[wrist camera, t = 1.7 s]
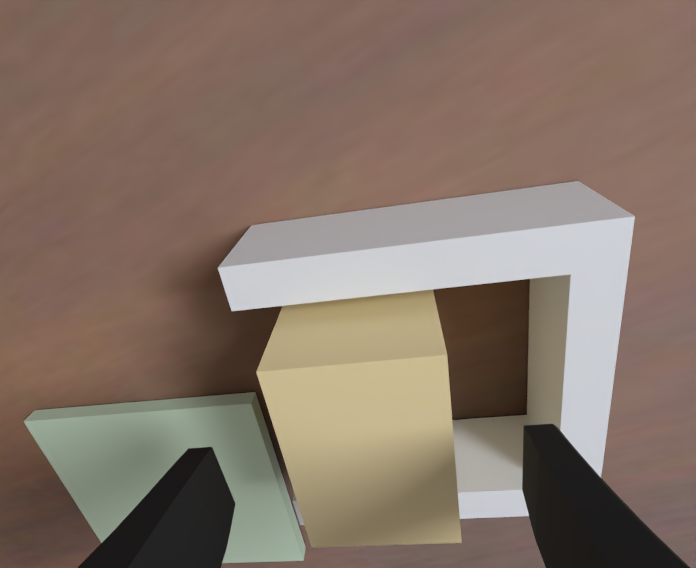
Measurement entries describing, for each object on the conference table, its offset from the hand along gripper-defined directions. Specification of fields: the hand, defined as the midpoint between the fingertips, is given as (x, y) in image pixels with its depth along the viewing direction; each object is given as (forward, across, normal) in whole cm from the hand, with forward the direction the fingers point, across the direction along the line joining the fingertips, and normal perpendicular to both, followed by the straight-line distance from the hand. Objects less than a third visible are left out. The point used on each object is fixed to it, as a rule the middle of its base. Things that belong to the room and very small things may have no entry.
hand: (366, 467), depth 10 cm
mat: (+5, +9, +6) cm, 12 cm away
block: (+5, 0, 0) cm, 5 cm away
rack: (+5, -2, 0) cm, 5 cm away
